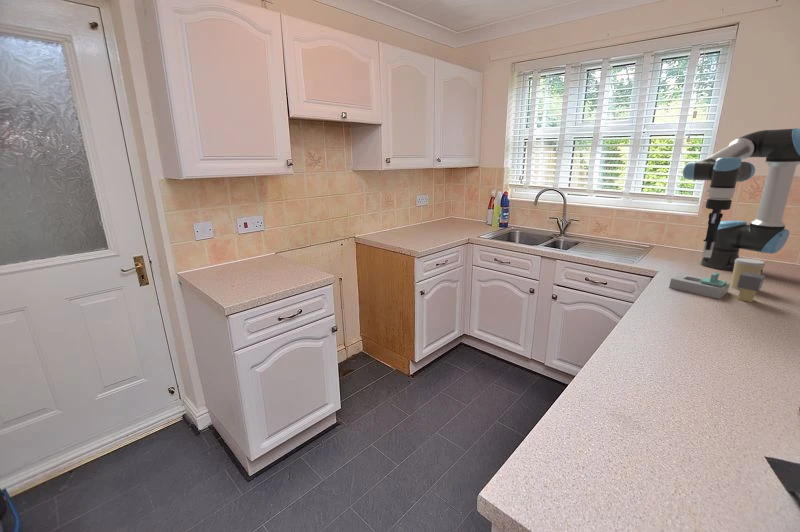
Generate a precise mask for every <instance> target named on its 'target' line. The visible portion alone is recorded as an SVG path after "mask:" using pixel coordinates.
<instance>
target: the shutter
mask: <svg viewBox="0 0 800 532" xmlns="http://www.w3.org/2000/svg"><path fill="white" fill-rule="evenodd" d="M719 275H720V272H717V271H714V273H711V274H710V277H708V276H707V277H706V276H705V277H702V278H703V279H702V280H700V282H701V283H706V284H711V285H716V286H721V287H722V286H723V285H725V284H726V283H727V282H728V281H726V280H723V279H719Z"/></svg>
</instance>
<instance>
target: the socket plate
mask: <svg viewBox="0 0 800 532" xmlns="http://www.w3.org/2000/svg"><path fill="white" fill-rule="evenodd" d="M703 278H704V277H702V276H696V275H691V274H687V273H681V272H680V273H678V274H676V275H675V276H673V277H671V278H670V282H669V287H668V288H671V289H674V290H679V291H683V292H688V293H692V294H696V295H697V294H698V295H701V296H706V297H709V298H714V299H719V300H720V299H722V298H723V297H724V296H725V295H726V294H728V292H729V290H730V289H729V288H730V287H731V282H728V281H727V283H726V284H725V285H723V286H722V287H721V286H716V285H711V284H706V283H701V282H700V280H702V279H703Z"/></svg>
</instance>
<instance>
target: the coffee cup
mask: <svg viewBox="0 0 800 532" xmlns="http://www.w3.org/2000/svg"><path fill="white" fill-rule="evenodd" d="M765 266H766V263H765V261H763V260H760V259H755V258H750V257H749V258H747V257H739V258H737V259H736V260H735V264H734V269H733V270H732V277H731V282H730V287H731V288H733V289H737V290H739V291H740V290H741V288H739V287H737V286H738V282H739V278H740V275H741V274H742V273H743V272H747V273H753V274H759V275H762V273H763V270H764V267H765Z"/></svg>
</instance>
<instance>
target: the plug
mask: <svg viewBox="0 0 800 532" xmlns="http://www.w3.org/2000/svg"><path fill="white" fill-rule="evenodd" d="M764 280H765V275H764V274H763V275H762V274H761V275H759V274H753V273H747V272H743V273H742V274H741V275H740V278H739V282H738V286H737V287H739V288H741V290H740V289H739V292H738V293H739V294H738V297H737V300H739V301H744V302H748V303H752V302H754V301H755V297H756V294H757V292H759V291H760V290H762V286H763V283H764Z"/></svg>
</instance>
